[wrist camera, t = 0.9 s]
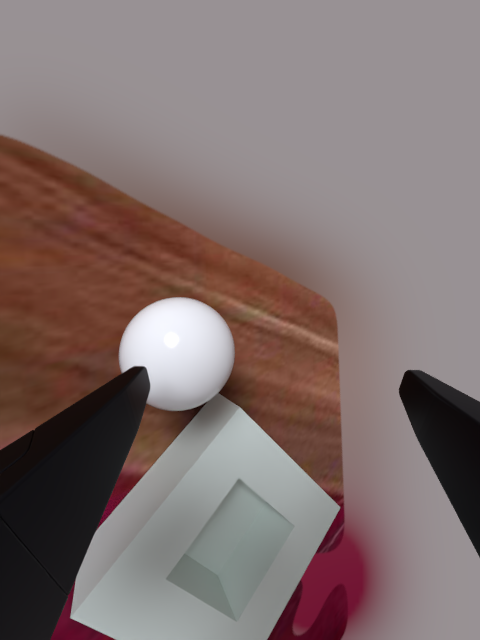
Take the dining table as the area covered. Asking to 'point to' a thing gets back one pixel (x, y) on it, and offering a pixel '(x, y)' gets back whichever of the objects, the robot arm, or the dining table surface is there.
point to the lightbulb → (179, 352)
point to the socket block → (205, 538)
